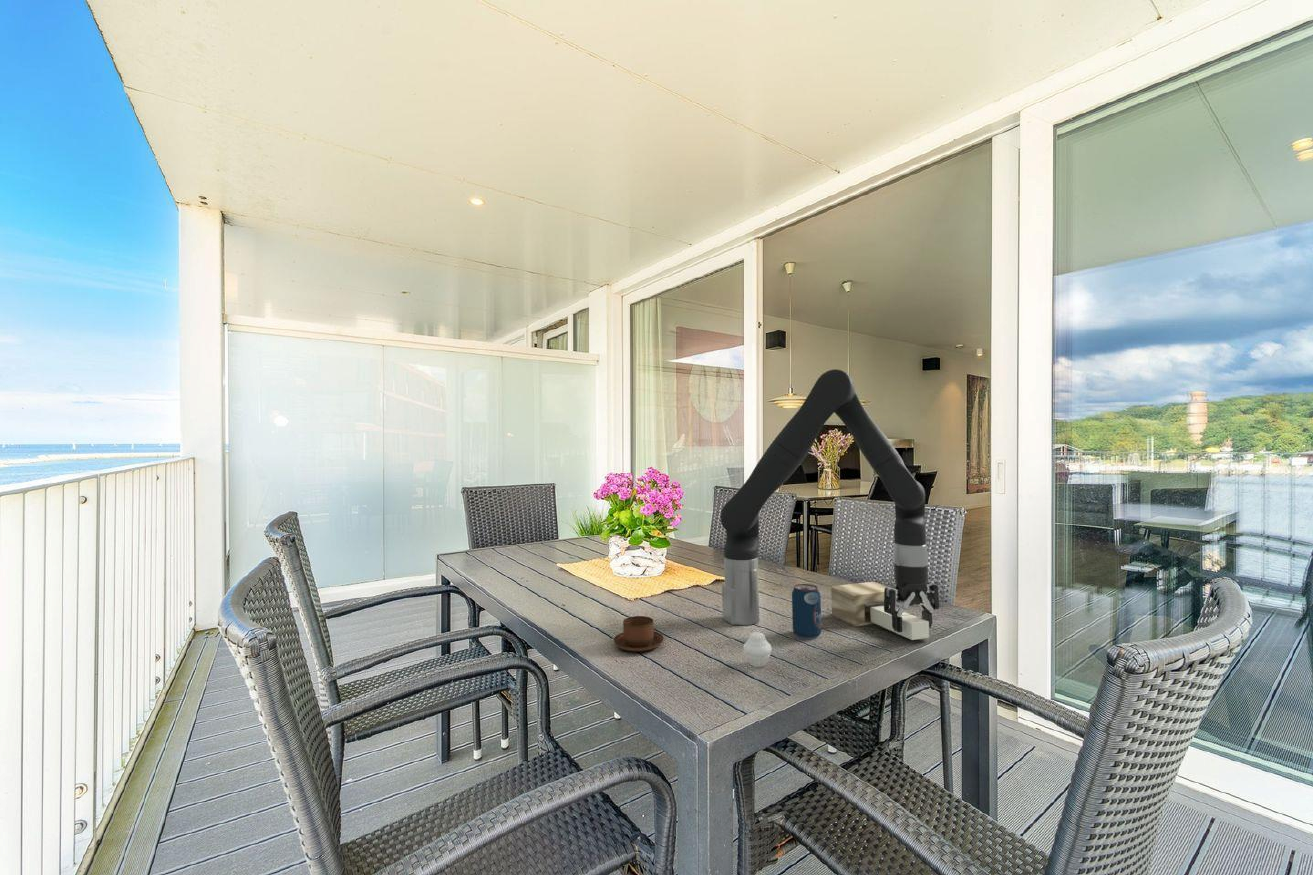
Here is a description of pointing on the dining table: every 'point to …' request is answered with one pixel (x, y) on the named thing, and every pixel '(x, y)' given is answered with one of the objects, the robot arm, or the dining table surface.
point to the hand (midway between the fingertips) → (912, 629)
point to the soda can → (806, 611)
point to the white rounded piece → (757, 649)
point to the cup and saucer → (638, 635)
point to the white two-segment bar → (910, 624)
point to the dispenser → (856, 601)
